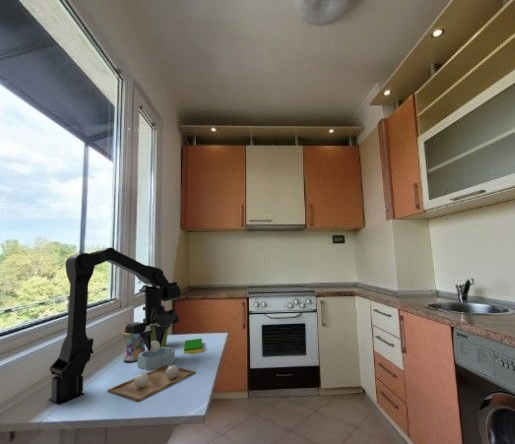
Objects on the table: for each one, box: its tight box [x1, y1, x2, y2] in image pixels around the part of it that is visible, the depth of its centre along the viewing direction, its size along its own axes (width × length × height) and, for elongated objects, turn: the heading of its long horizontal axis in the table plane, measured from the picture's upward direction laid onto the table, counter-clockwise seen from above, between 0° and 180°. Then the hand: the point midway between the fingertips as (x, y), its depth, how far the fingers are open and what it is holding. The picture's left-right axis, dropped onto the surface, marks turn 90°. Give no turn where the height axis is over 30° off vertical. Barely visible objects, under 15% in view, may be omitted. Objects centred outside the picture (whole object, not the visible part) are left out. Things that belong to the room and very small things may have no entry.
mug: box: [121, 330, 147, 363], centre depth 111 cm, size 12×9×11 cm
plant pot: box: [142, 321, 169, 348], centre depth 123 cm, size 12×12×11 cm
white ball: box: [150, 340, 160, 352], centre depth 101 cm, size 4×4×4 cm
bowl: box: [137, 346, 176, 371], centre depth 102 cm, size 12×12×4 cm
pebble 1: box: [134, 372, 149, 388], centre depth 81 cm, size 4×4×4 cm
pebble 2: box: [166, 364, 179, 379], centre depth 86 cm, size 4×4×4 cm
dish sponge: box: [183, 338, 204, 355], centre depth 118 cm, size 7×14×2 cm, turn 12°
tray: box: [107, 365, 196, 403], centre depth 85 cm, size 20×14×1 cm
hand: (154, 348), depth 101 cm, fingers closed on white ball, 4 cm apart
